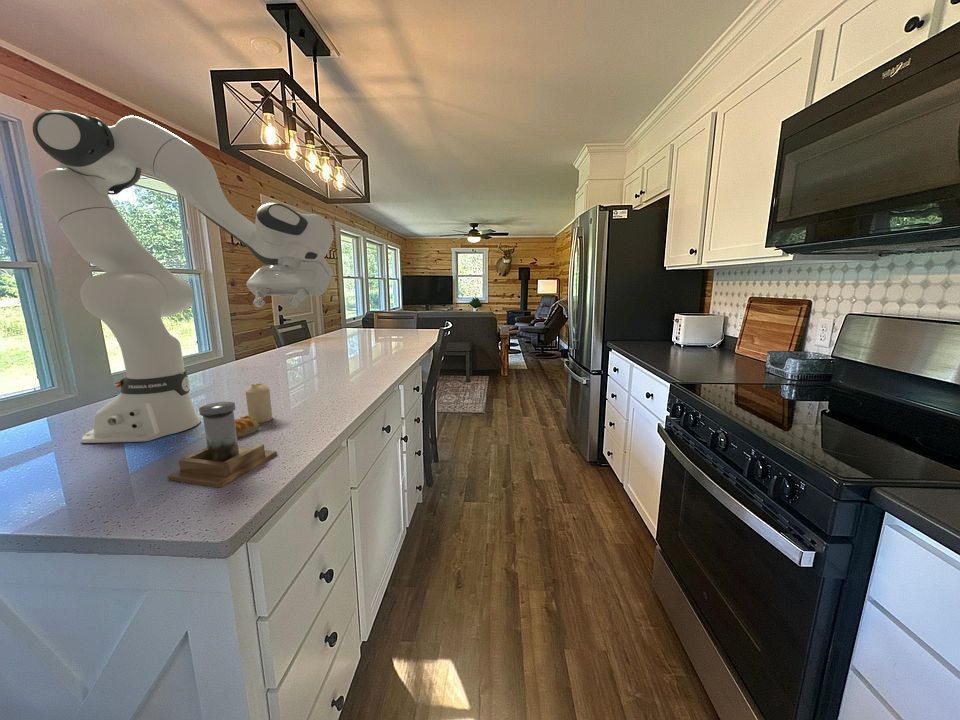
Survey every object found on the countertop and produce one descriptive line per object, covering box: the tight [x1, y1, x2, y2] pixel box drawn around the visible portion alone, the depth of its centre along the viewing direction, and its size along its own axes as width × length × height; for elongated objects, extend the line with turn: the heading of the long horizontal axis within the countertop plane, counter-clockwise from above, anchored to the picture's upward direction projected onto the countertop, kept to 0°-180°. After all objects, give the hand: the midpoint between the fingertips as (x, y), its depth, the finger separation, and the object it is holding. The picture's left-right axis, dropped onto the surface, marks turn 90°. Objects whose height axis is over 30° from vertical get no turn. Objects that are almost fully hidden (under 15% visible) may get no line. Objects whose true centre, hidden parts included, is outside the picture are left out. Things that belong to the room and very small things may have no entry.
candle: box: [245, 383, 273, 424], centre depth 102 cm, size 6×6×10 cm
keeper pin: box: [198, 401, 239, 462], centre depth 75 cm, size 6×6×12 cm
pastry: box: [234, 415, 260, 439], centre depth 93 cm, size 9×7×4 cm
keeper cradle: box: [167, 443, 278, 489], centre depth 77 cm, size 14×12×3 cm
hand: (274, 305), depth 89 cm, fingers open, 8 cm apart
